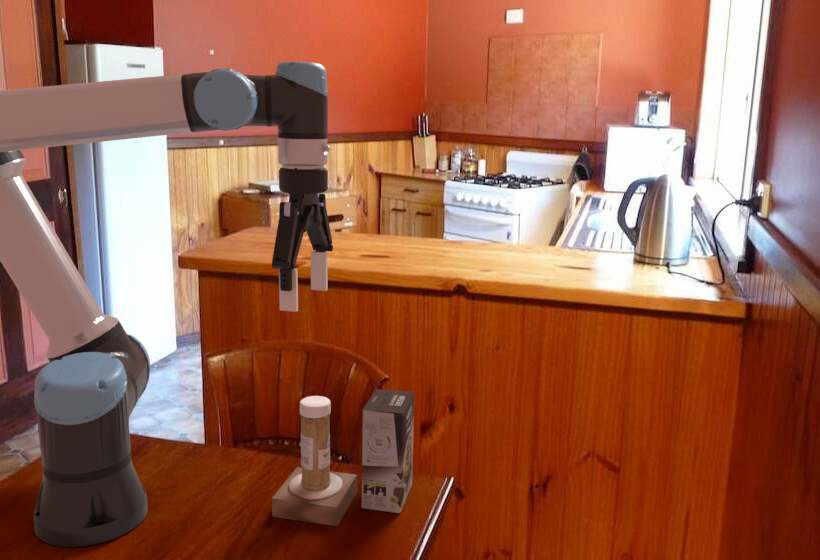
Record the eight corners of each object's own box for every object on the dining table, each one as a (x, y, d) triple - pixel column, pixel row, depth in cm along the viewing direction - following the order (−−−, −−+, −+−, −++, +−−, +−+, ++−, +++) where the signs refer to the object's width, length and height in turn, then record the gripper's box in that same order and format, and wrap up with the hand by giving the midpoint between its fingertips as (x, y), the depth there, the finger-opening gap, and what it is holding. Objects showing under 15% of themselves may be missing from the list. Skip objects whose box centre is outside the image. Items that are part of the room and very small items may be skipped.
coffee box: (401, 514, 110) (403, 413, 106) (360, 509, 111) (360, 409, 107) (413, 484, 118) (416, 390, 115) (375, 480, 120) (375, 387, 116)
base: (272, 516, 108) (271, 495, 108) (297, 483, 118) (297, 464, 117) (337, 526, 106) (336, 504, 106) (357, 492, 116) (357, 472, 115)
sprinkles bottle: (333, 488, 110) (333, 404, 107) (303, 493, 109) (302, 407, 105) (327, 474, 114) (327, 393, 111) (298, 478, 113) (297, 396, 110)
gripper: (296, 174, 101) (298, 322, 106) (350, 162, 124) (350, 283, 129) (245, 171, 102) (250, 318, 107) (308, 160, 126) (310, 280, 131)
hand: (304, 299), depth 118 cm, fingers open, 13 cm apart
